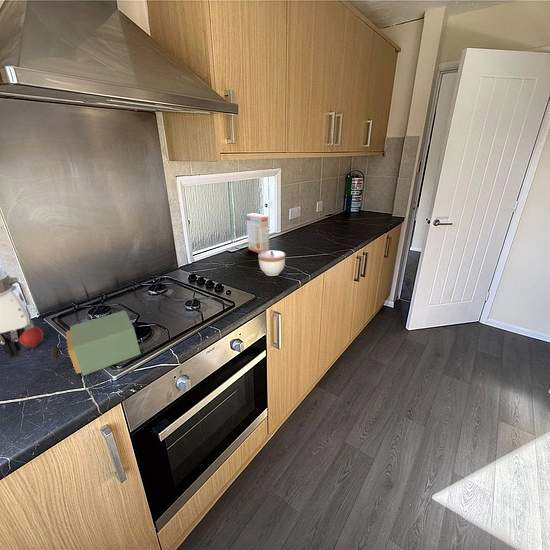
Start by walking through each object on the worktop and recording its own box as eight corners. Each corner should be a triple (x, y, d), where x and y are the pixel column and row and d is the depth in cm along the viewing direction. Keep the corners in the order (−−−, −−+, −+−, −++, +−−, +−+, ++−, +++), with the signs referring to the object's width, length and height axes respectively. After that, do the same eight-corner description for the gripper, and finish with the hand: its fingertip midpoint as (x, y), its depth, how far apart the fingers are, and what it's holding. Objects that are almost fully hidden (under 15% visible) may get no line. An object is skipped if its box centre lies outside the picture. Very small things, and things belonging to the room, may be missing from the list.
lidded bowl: (276, 280, 131) (275, 257, 126) (253, 274, 137) (252, 252, 133) (290, 270, 140) (290, 248, 136) (268, 266, 147) (267, 245, 142)
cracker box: (270, 253, 165) (268, 216, 157) (261, 255, 162) (259, 217, 154) (256, 247, 176) (254, 212, 167) (248, 249, 172) (245, 213, 164)
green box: (83, 376, 78) (72, 348, 74) (79, 352, 87) (69, 326, 84) (140, 354, 85) (134, 327, 82) (131, 334, 95) (125, 310, 91)
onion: (29, 342, 93) (19, 320, 89) (50, 339, 94) (41, 317, 91) (19, 353, 87) (9, 331, 84) (41, 350, 89) (32, 327, 86)
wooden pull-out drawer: (57, 381, 75) (47, 358, 72) (56, 358, 83) (47, 336, 81) (131, 353, 84) (125, 332, 81) (123, 335, 93) (118, 315, 90)
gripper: (31, 274, 73) (51, 337, 80) (-55, 289, 65) (-24, 357, 72) (29, 284, 67) (52, 351, 74) (-64, 302, 59) (-30, 374, 66)
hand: (15, 353), depth 73 cm, fingers closed
